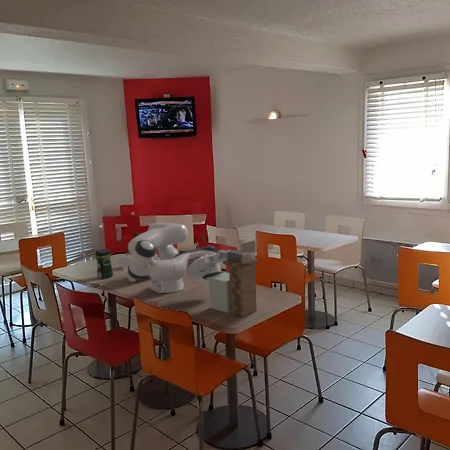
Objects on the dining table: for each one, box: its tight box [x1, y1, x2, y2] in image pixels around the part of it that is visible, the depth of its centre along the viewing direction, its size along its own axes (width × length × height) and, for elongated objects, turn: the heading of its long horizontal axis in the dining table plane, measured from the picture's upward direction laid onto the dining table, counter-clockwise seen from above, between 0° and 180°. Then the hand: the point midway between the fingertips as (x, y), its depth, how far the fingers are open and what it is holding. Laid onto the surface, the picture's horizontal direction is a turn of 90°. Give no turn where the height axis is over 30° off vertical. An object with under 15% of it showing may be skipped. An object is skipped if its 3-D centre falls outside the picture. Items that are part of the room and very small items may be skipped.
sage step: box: [208, 272, 231, 314], centre depth 234 cm, size 12×12×16 cm
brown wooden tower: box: [222, 239, 259, 317], centre depth 225 cm, size 12×12×36 cm
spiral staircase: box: [117, 253, 160, 283], centre depth 291 cm, size 18×18×25 cm
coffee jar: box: [94, 248, 114, 280], centre depth 298 cm, size 10×8×19 cm
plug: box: [217, 249, 242, 263], centre depth 226 cm, size 18×5×4 cm, turn 44°
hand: (223, 253), depth 231 cm, fingers closed on plug, 3 cm apart
